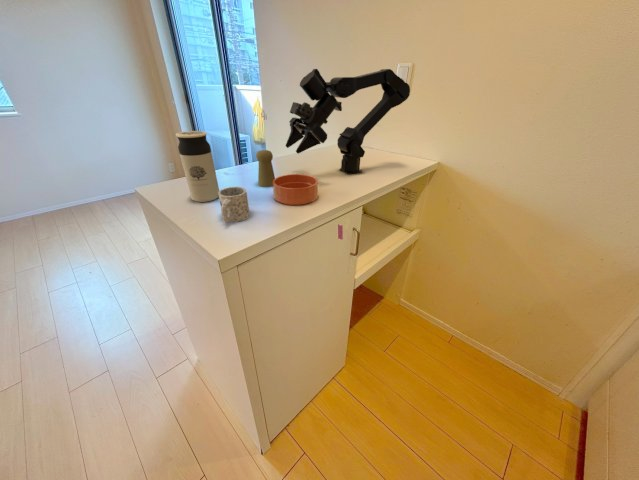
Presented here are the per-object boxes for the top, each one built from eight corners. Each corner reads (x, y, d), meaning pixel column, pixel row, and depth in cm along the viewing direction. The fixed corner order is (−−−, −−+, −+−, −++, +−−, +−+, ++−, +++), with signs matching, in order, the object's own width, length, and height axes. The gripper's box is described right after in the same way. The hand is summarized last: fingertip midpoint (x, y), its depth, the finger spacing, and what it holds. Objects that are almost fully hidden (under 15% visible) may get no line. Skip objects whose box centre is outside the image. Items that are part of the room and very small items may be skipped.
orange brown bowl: (305, 186, 86) (305, 171, 83) (325, 200, 76) (325, 184, 73) (267, 193, 80) (266, 177, 78) (284, 209, 71) (282, 192, 68)
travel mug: (198, 192, 80) (183, 130, 71) (224, 192, 80) (212, 131, 71) (186, 202, 74) (168, 135, 64) (214, 202, 74) (199, 136, 64)
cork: (279, 184, 88) (277, 150, 82) (264, 188, 84) (261, 153, 78) (269, 179, 91) (266, 147, 85) (254, 183, 88) (250, 150, 82)
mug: (229, 209, 70) (225, 186, 66) (253, 211, 69) (250, 187, 66) (212, 227, 61) (206, 201, 58) (239, 229, 61) (235, 203, 57)
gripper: (293, 90, 86) (264, 128, 88) (318, 93, 72) (284, 137, 74) (314, 115, 93) (287, 150, 95) (341, 122, 79) (309, 162, 81)
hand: (291, 149), depth 86 cm, fingers open, 9 cm apart
